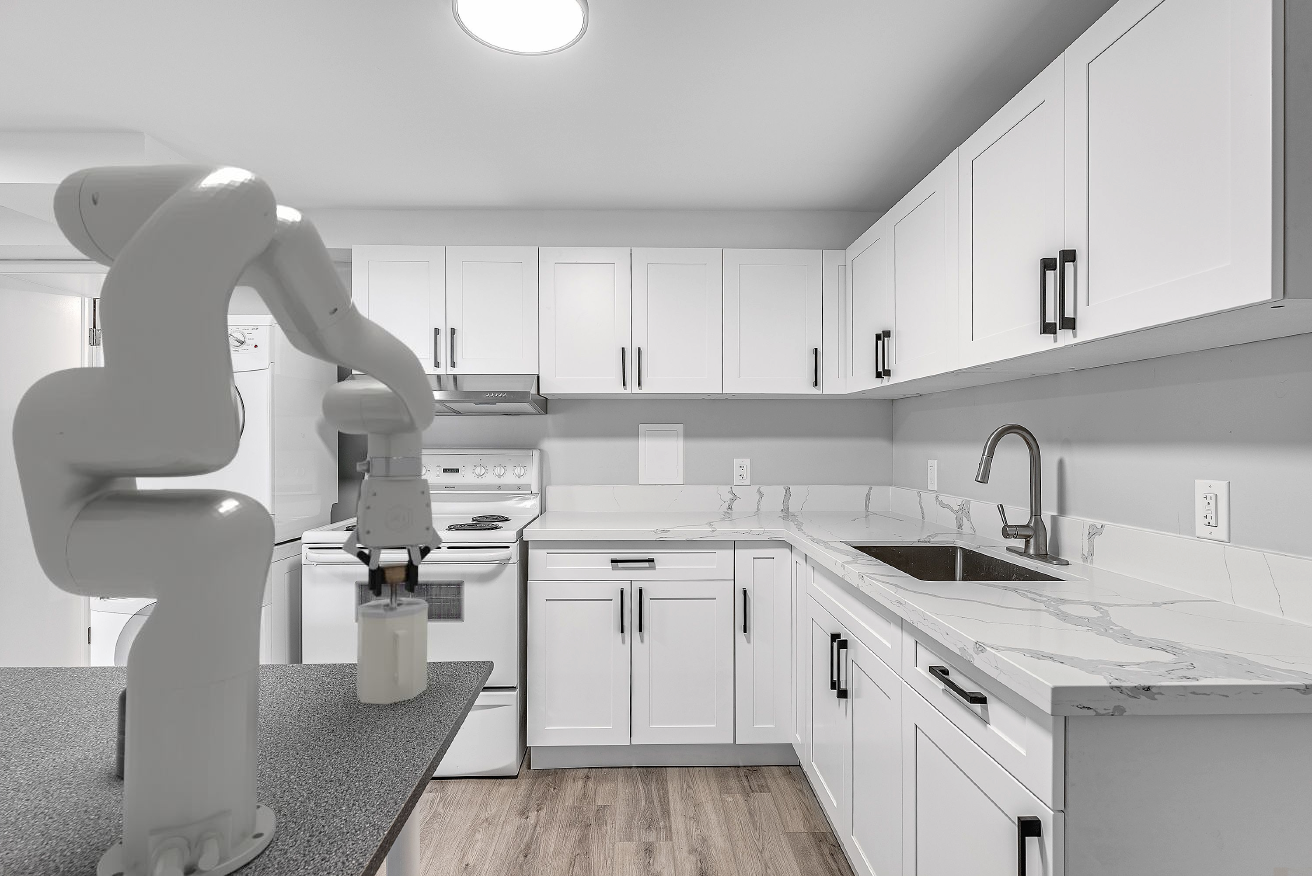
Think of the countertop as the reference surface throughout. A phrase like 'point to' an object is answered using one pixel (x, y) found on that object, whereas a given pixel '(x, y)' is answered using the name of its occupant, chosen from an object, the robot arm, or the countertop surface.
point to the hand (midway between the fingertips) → (393, 591)
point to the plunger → (394, 578)
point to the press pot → (392, 650)
